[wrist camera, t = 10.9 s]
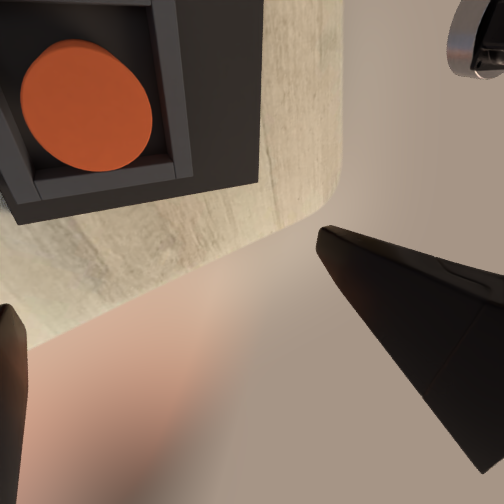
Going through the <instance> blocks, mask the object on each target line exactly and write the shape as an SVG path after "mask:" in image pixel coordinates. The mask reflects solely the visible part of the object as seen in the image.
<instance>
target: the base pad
mask: <svg viewBox="0 0 504 504" xmlns="http://www.w3.org/2000/svg"><path fill="white" fill-rule="evenodd" d="M263 4H264V0H0V192H1V193H2V195H3V197H4V199H5V201H6V203H7V205H8V207H9V209H10V211H11V213H12V215H13V217H14V219H15V221H16V223H17V224H18V225H23V224H29V223H35V222H40V221H46V220H51V219H57V218H63V217H68V216H74V215H79V214H85V213H90V212H96V211H102V210H107V209H113V208H118V207H124V206H129V205H135V204H141V203H146V202H152V201H157V200H163V199H168V198H174V197H180V196H185V195H191V194H196V193H202V192H207V191H213V190H219V189H224V188H230V187H235V186H241V185H247V184H252V183H257V182H258V171H259V138H260V104H261V71H262V37H263ZM66 39H81V40H86V41H89V42H92V43H95V44H97V45H99V46H101V47H103V48H104V49H106V50H107V51H108V52H110V53H111V54H112V55H113V56H115V57H116V58H117V59H118V60H119V61H120V62H121V63H122V64H124V65H125V66H126V67H127V68H128V69H129V70H130V71H131V72H132V73H133V74H134V75H135V77H136V78H137V79H138V80H139V82H140V84H141V85H142V87H143V88H144V90H145V92H146V94H147V97H148V100H149V103H150V107H151V111H152V130H151V134H150V138H149V141H148V143H147V145H146V147H145V148H144V150H143V151H142V152H141V154H140V155H139V156H138V157H137V158H136V159H135V160H133V161H132V162H130V163H129V164H127V165H125V166H123V167H121V168H118V169H115V170H110V171H101V172H99V171H87V170H82V169H79V168H75V167H73V166H70V165H68V164H66V163H64V162H62V161H60V160H59V159H57V158H55V157H54V156H53V155H51V154H50V153H49V152H48V151H46V150H45V149H44V148H43V147H42V146H41V145H40V144H39V142H38V141H37V140H36V139H35V137H34V136H33V134H32V133H31V131H30V130H29V128H28V126H27V124H26V122H25V119H24V116H23V113H22V108H21V101H20V92H21V85H22V82H23V78H24V76H25V74H26V72H27V70H28V68H29V67H30V66H31V64H32V63H33V62H34V61H35V60H36V59H37V58H38V57H39V56H40V55H41V54H42V53H43V51H45V50H46V49H47V48H48V47H49V46H51V45H52V44H54V43H56V42H58V41H61V40H66Z"/></svg>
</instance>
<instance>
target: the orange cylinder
mask: <svg viewBox="0 0 504 504" xmlns="http://www.w3.org/2000/svg"><path fill="white" fill-rule="evenodd" d="M20 101H21V108H22V113H23V116H24V119H25V122H26V124H27V126H28V128H29V130H30V131H31V133H32V134H33V136H34V137H35V139H36V140H37V141H38V142H39V144H40V145H41V146H42V147H43V148H44V149H45V150H46V151H48V152H49V153H50V154H51V155H53V156H54V157H55V158H57V159H59V160H60V161H62V162H64V163H66V164H68V165H70V166H73V167H75V168H79V169H82V170H87V171H99V172H101V171H110V170H115V169H118V168H121V167H123V166H125V165H127V164H129V163H130V162H132V161H133V160H135V159H136V158H137V157H138V156H139V155H140V154H141V152H142V151H143V150H144V148H145V147H146V145H147V143H148V141H149V138H150V134H151V130H152V111H151V107H150V103H149V100H148V97H147V94H146V92H145V90H144V88H143V87H142V85H141V84H140V82H139V80H138V79H137V78H136V77H135V75H134V74H133V73H132V72H131V71H130V70H129V69H128V68H127V67H126V66H125V65H124V64H122V63H121V62H120V61H119V60H118V59H117V58H116V57H115V56H113V55H112V54H111V53H110V52H108V51H107V50H106V49H104V48H103V47H101V46H99V45H97V44H95V43H92V42H89V41H86V40H81V39H66V40H61V41H58V42H56V43H54V44H52V45H51V46H49V47H48V48H47V49H46V50H45V51H43V53H42V54H41V55H40V56H39V57H38V58H37V59H36V60H35V61H34V62H33V63H32V64H31V66H30V67H29V68H28V70H27V72H26V74H25V76H24V78H23V82H22V85H21V92H20Z"/></svg>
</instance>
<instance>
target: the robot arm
mask: <svg viewBox="0 0 504 504" xmlns="http://www.w3.org/2000/svg"><path fill="white" fill-rule="evenodd" d="M470 70H472V71H489V70H504V0H495V1H494V4H493V6H492V9H491V12H490V14H489V17H488V19H487V22H486V25H485V27H484V30H483V33H482V35H481V38H480V41H479V43H478V46H477V49H476V51H475V54H474V57H473V59H472V62H471V65H470ZM316 252H317V254H318V256H319V258H320V259H321V261H322V262H323V264H324V266H325V267H326V269H327V271H328V272H329V274H330V276H331V277H332V279H333V281H334V282H335V284H336V285H337V286H338V288H339V289H340V291H341V292H342V293H343V295H344V296H345V297H346V299H347V300H348V301H349V303H350V304H351V305H352V306H353V308H354V309H355V310H356V312H357V313H358V314H359V316H360V317H361V318H362V320H363V321H364V322H365V323H366V325H367V326H368V327H369V329H370V330H371V331H372V333H373V334H374V335H375V336H376V338H377V339H378V340H379V342H380V343H381V344H382V346H383V347H384V348H385V350H386V351H387V352H388V353H389V355H391V357H392V359H393V360H394V361H395V362H396V364H397V365H398V366H399V368H400V369H401V370H402V372H403V373H404V374H405V375H406V377H407V378H408V379H409V381H410V382H411V383H412V385H413V386H414V387H415V389H416V390H417V391H418V392H419V394H420V395H421V396H422V398H423V399H424V401H425V402H426V403H427V404H428V406H429V407H430V408H431V410H432V411H433V412H434V414H435V415H436V416H437V418H438V419H439V420H440V421H441V423H442V424H443V425H444V427H445V428H446V429H447V430H448V432H449V433H450V434H451V435H452V437H453V438H454V440H455V441H456V442H457V443H458V445H459V446H460V448H461V449H462V450H463V451H464V453H465V454H466V455H467V457H468V458H469V459H470V461H471V462H472V463H473V464H474V466H475V467H476V468H477V469H478V470H479V471H480V472H481V474H484V473H486V472H487V471H488V470H489V469H491V468H492V467H493V466H495V465H496V464H497V463H499V462H500V461H501V460H503V459H504V275H500V274H496V273H492V272H488V271H484V270H481V269H476V268H473V267H469V266H465V265H462V264H459V263H454V262H451V261H448V260H445V259H441V258H438V257H434V256H432V255H428V254H425V253H421V252H418V251H415V250H412V249H408V248H405V247H402V246H399V245H395V244H392V243H388V242H385V241H382V240H378V239H375V238H372V237H369V236H365V235H362V234H359V233H355V232H352V231H349V230H346V229H342V228H339V227H336V226H332V225H329V226H325V227H322V228H320V230H319V232H318V238H317V243H316ZM27 398H28V364H27V334H26V329H25V326H24V324H23V323H22V321H21V319H20V318H19V316H18V315H17V313H16V311H15V310H14V308H13V307H12V306H11V305H10V304H2V305H0V504H16V499H17V489H18V481H19V472H20V463H21V453H22V444H23V435H24V425H25V416H26V407H27Z"/></svg>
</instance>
